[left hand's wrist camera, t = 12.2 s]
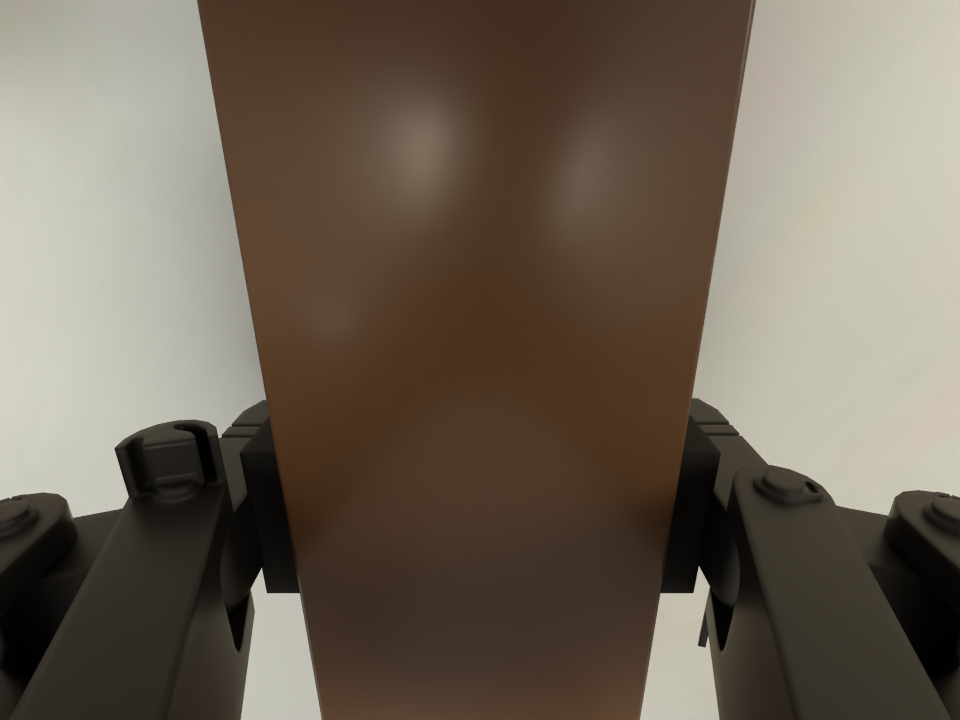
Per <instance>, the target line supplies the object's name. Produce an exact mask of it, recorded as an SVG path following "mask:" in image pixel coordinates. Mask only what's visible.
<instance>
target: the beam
mask: <svg viewBox="0 0 960 720" xmlns="http://www.w3.org/2000/svg"><path fill="white" fill-rule="evenodd" d="M197 3H198V8H199V14H200V20H201V26H202V31H203V37H204V43H205V49H206V54H207V60H208V66H209V72H210V77H211V83H212V89H213V95H214V101H215V106H216V112H217V118H218V124H219V129H220V135H221V141H222V147H223V152H224V158H225V164H226V170H227V175H228V181H229V187H230V193H231V198H232V204H233V210H234V216H235V221H236V227H237V233H238V239H239V245H240V250H241V256H242V262H243V268H244V273H245V279H246V285H247V291H248V296H249V302H250V308H251V314H252V319H253V325H254V331H255V337H256V342H257V348H258V354H259V360H260V365H261V371H262V377H263V383H264V389H265V394H266V400H267V406H268V412H269V417H270V423H271V429H272V435H273V440H274V446H275V452H276V458H277V463H278V469H279V475H280V481H281V486H282V492H283V498H284V504H285V509H286V515H287V521H288V527H289V533H290V538H291V544H292V550H293V556H294V561H295V567H296V573H297V579H298V584H299V590H300V596H301V602H302V607H303V613H304V619H305V625H306V630H307V636H308V642H309V648H310V653H311V659H312V665H313V671H314V677H315V682H316V688H317V694H318V700H319V705H320V711H321V717H322V720H640V715H641V709H642V703H643V696H644V690H645V684H646V678H647V672H648V665H649V659H650V653H651V647H652V641H653V634H654V628H655V622H656V616H657V610H658V603H659V597H660V591H661V585H662V579H663V573H664V566H665V560H666V554H667V548H668V542H669V535H670V529H671V523H672V517H673V511H674V504H675V498H676V492H677V486H678V480H679V473H680V467H681V461H682V455H683V449H684V443H685V436H686V430H687V424H688V418H689V412H690V405H691V399H692V393H693V387H694V381H695V374H696V368H697V362H698V356H699V350H700V344H701V337H702V331H703V325H704V319H705V313H706V306H707V300H708V294H709V288H710V282H711V275H712V269H713V263H714V257H715V251H716V244H717V238H718V232H719V226H720V220H721V214H722V207H723V201H724V195H725V189H726V183H727V176H728V170H729V164H730V158H731V152H732V145H733V139H734V133H735V127H736V121H737V114H738V108H739V102H740V96H741V90H742V84H743V77H744V71H745V65H746V59H747V53H748V46H749V40H750V34H751V28H752V22H753V15H754V9H755V3H756V0H197Z"/></svg>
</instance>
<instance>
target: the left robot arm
mask: <svg viewBox="0 0 960 720" xmlns="http://www.w3.org/2000/svg"><path fill="white" fill-rule="evenodd" d="M114 449H115V452H116V455H117V459H118V462H119V465H120V469H121V472H122V475H123V479H124V482H125V485H126V489H127V492H128V495H129V498H128V500H127V502H126V504H125V506H124V507H123V508H122V509H118V510H113V511H108V512H103V513H97V514H92V515H87V516H82V517H76V518H73V517H72V514H71V511H70V508H69V506H68V503H67V500H66V499H64V498H63V497H62V496H60V495H59V494H51V493H37V494H29V495H19V496H14V497H12V498H11V499H10V498H7V499H4V500H0V720H240V719H241V712H242V704H243V696H244V689H245V681H246V673H247V666H248V658H249V651H250V643H251V635H252V628H253V620H254V612H255V610H254V604H253V598H252V594H251V587H252V585H253V583H254V581H255V579H256V577H257V575H258V574H259V572H260V570H261V568H262V570H263V575H264V580H265V585H266V590H267V593H300V590H299V584H298V579H297V573H296V567H295V561H294V556H293V550H292V544H291V538H290V533H289V527H288V521H287V515H286V509H285V504H284V498H283V492H282V486H281V481H280V475H279V469H278V463H277V458H276V452H275V446H274V440H273V435H272V429H271V423H270V417H269V412H268V406H267V400H263V401H261V402H259V403H257V404H256V405H254V406H252V407H250V408H248V409H247V410H245V411H243V412H242V414H241V415H240V416H239V417H238V418H237V419H236V420H235V421H234V422H233V423H232V427H229V428H228V429H227V430H226V431H225V432H224V433H223V434H222V438H219V439H218V434H217V429H216V427H215V426H213V425H212V424H210V423H209V422H205V421H199V420H177V421H172V422H167V423H162V424H158V425H155V426H152V427H149V428H146V429H143V430H140V431H138V432H136V433H135V434H133V435H131V436H129V437H127V438H125V439H124V440H123V441H122V442H121V443H120V444H119V445H117V446H116V447H115V448H114ZM699 566H700V568H701V570H702V572H703V574H704V576H705V578H706V580H707V581H708V583H709V585H710V589H709V594H708V598H707V603H706V608H705V612H704V617H703V622H702V626H701V631H700V636H699V643H698V646H701V647H706V642H707V638H708V636H709V642H710V649H711V657H712V664H713V672H714V680H715V687H716V695H717V703H718V710H719V718H720V720H960V498H959V497H956V496H953V495H952V496H950V495H949V494H945V493H940V492H928V491H920V490H916V491H907V492H902V493H901V494H899V495H898V496H896V497H895V499H894V501H893V504H892V507H891V510H890V513H889V516H886V515H881V514H876V513H870V512H865V511H860V510H854V509H849V508H844V507H840V506H836V505H835V503H834V501H833V499H832V497H831V496H830V495H829V493H828V492H827V491H826V490H825V489H824V488H823V487H822V486H821V485H820V484H818V483H817V482H815V481H813V480H812V479H810V478H809V477H807V476H805V475H802V474H800V473H797V472H795V471H792V470H790V469H786V468H781V467H777V466H773V465H768V464H767V463H766V462H765V461H764V460H763V459H762V458H761V457H760V455H759V454H758V453H757V452H756V451H755V450H754V449H753V448H752V447H751V446H750V445H749V444H748V442H747V441H746V440H745V439H744V438H743V437H742V436H739V433H738V432H737V430H736V429H735V428H734V427H733V426H732V425H729V422H728V421H727V420H726V419H725V417H724V416H723V415H722V414H721V413H720V412H719V411H718V410H717V409H715V408H714V407H712V406H710V405H708V404H706V403H705V402H703V401H701V400H699V399H697V398H692V399H691V405H690V412H689V418H688V424H687V430H686V436H685V443H684V449H683V455H682V461H681V467H680V473H679V480H678V486H677V492H676V498H675V504H674V511H673V517H672V523H671V529H670V535H669V542H668V548H667V554H666V560H665V566H664V573H663V579H662V585H661V591H660V593H693V592H694V587H695V582H696V577H697V572H698V567H699Z"/></svg>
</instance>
